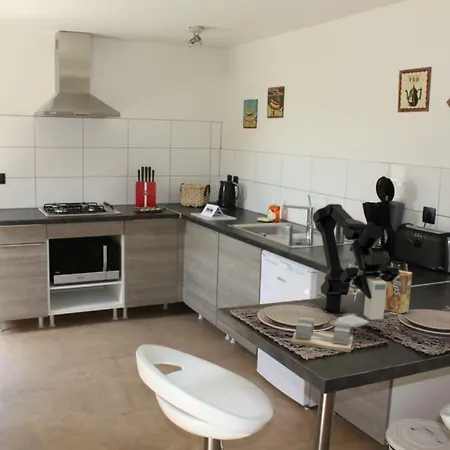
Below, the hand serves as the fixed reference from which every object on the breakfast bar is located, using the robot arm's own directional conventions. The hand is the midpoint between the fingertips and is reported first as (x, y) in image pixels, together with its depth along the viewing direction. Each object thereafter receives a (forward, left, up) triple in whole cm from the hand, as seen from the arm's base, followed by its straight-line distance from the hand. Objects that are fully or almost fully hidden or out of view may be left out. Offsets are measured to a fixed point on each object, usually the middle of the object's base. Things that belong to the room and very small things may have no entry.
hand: (377, 298), depth 186 cm
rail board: (0, -17, -14) cm, 22 cm away
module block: (-1, 0, -7) cm, 7 cm away
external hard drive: (-16, -3, -15) cm, 22 cm away
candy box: (-29, +21, -14) cm, 38 cm away
